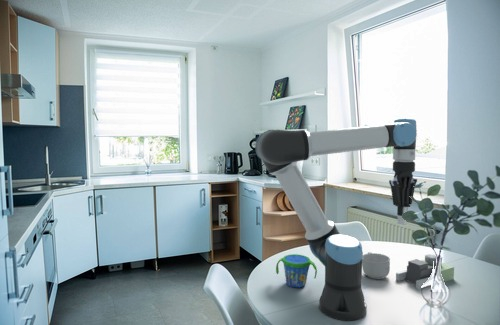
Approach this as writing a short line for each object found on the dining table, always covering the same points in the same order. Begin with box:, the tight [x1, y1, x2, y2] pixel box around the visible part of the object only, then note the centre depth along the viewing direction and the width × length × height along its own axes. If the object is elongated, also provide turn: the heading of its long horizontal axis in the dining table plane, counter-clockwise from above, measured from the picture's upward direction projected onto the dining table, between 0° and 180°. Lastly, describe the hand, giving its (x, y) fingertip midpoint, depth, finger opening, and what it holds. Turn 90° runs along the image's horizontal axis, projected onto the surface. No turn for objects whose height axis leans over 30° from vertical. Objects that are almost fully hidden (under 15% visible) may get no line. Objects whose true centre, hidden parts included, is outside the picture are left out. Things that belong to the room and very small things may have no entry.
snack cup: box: [275, 253, 318, 289], centre depth 134 cm, size 16×10×10 cm
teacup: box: [362, 251, 391, 280], centre depth 143 cm, size 14×11×8 cm
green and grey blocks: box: [395, 253, 455, 291], centre depth 138 cm, size 21×11×8 cm, turn 119°
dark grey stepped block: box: [406, 258, 433, 285], centre depth 137 cm, size 8×6×8 cm
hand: (401, 223), depth 130 cm, fingers closed
